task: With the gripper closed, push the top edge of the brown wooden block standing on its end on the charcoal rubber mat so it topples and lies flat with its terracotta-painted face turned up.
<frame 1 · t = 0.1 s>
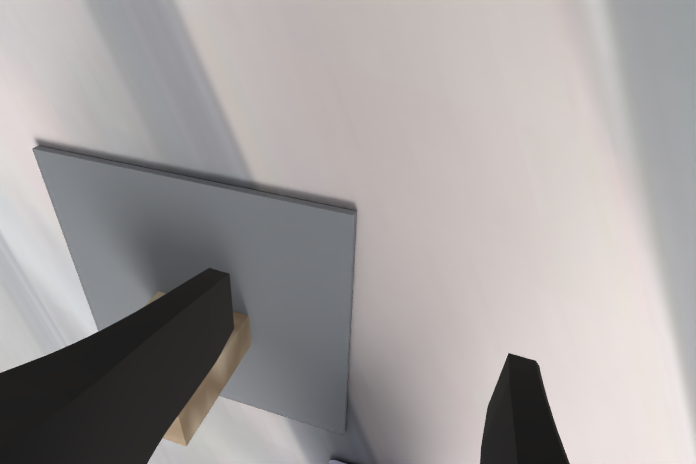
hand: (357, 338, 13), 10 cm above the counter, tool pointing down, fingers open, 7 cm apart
brown wooden block: (204, 317, 30), resting on mat
mat: (206, 301, 30), on the counter
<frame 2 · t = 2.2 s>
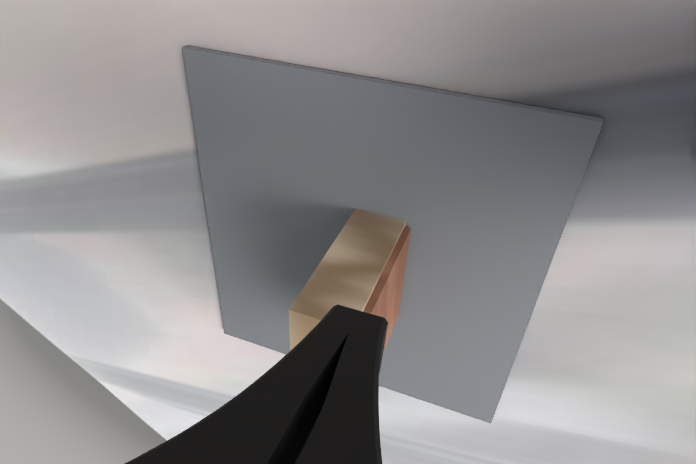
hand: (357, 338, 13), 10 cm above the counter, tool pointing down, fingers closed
brown wooden block: (375, 265, 25), resting on mat
mat: (358, 255, 25), on the counter
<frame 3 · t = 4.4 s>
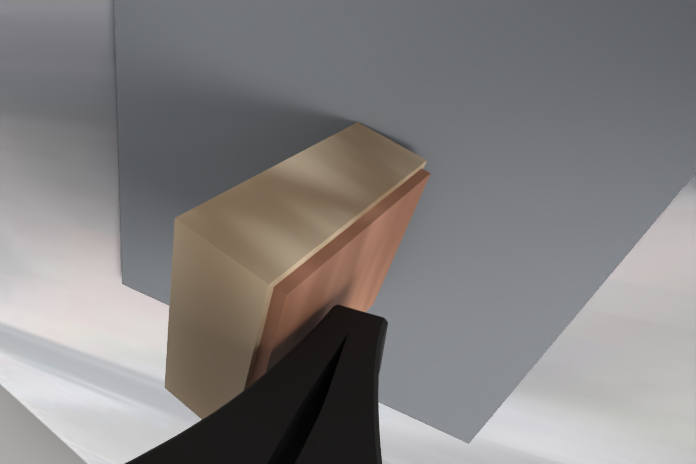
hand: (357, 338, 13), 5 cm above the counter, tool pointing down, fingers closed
brown wooden block: (363, 219, 17), point 1 cm above the counter, tilted 14°, touching mat
mat: (343, 197, 17), on the counter
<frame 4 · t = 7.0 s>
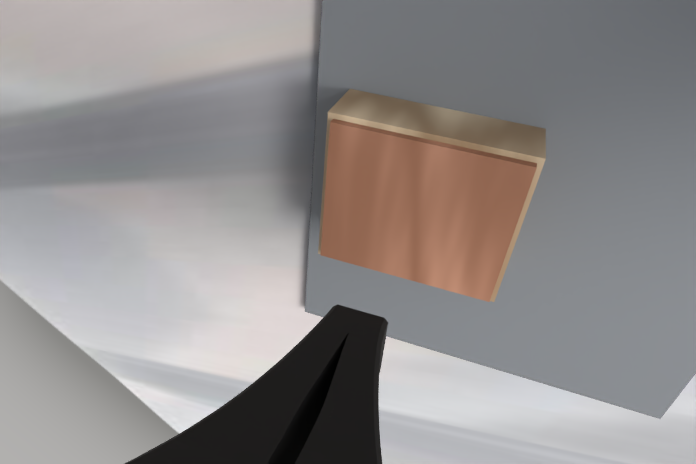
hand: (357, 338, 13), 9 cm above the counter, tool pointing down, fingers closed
brown wooden block: (518, 219, 18), point 2 cm above the counter, tilted 90°, touching mat
mat: (526, 199, 19), on the counter
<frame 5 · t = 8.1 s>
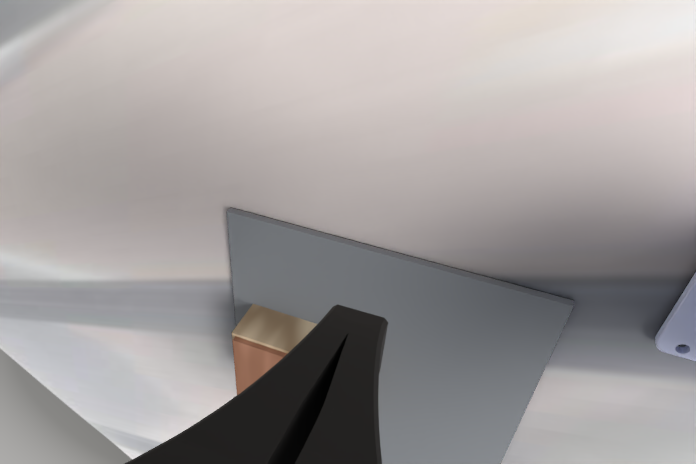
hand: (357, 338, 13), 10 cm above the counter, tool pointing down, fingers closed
brown wooden block: (357, 392, 28), point 2 cm above the counter, tilted 90°, touching mat
mat: (369, 371, 29), on the counter
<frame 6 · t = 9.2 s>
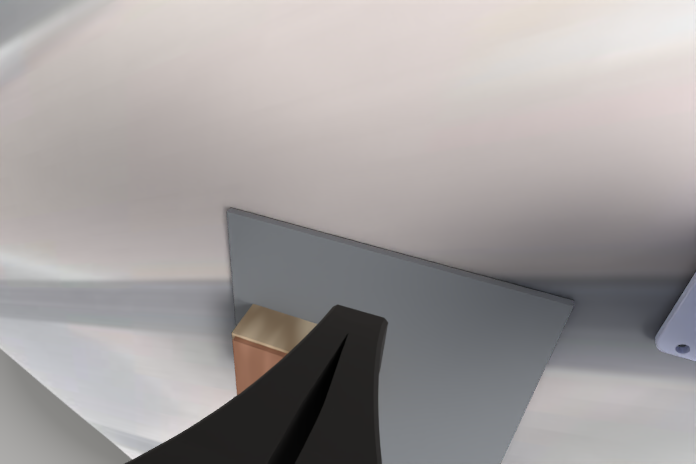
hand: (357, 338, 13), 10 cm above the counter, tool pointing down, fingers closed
brown wooden block: (357, 392, 28), point 2 cm above the counter, tilted 90°, touching mat
mat: (369, 371, 29), on the counter
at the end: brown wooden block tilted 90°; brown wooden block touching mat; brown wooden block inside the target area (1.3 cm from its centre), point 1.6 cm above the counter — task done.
